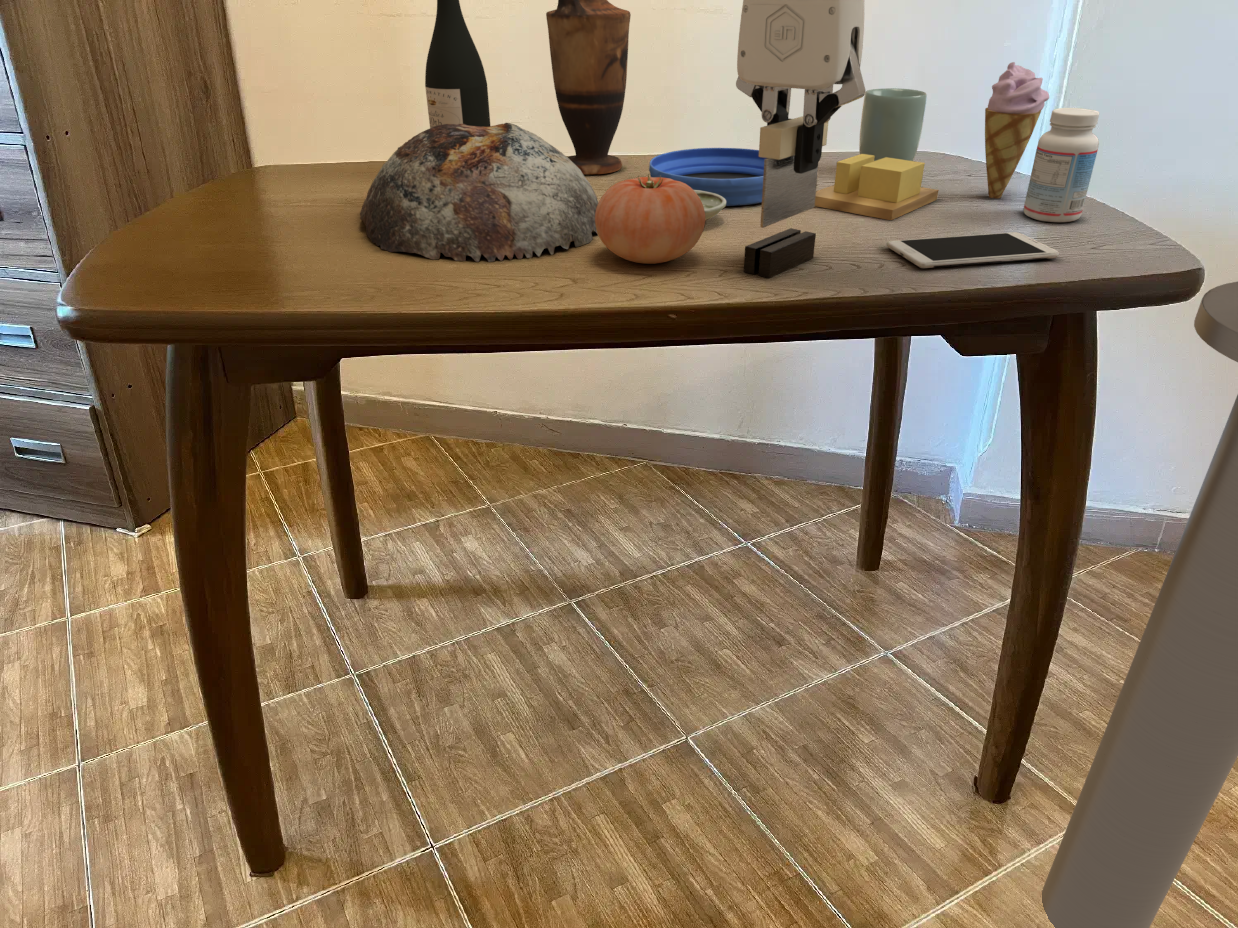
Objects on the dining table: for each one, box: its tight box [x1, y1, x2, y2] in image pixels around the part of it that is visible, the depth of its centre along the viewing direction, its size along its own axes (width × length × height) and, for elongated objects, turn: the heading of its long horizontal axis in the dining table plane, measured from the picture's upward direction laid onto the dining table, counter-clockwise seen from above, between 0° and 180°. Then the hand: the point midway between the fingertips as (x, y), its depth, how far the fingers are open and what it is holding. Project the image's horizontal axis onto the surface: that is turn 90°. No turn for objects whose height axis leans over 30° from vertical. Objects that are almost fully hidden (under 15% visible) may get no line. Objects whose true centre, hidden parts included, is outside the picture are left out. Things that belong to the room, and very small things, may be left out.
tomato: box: [595, 172, 706, 265], centre depth 85 cm, size 11×11×8 cm
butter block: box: [858, 157, 926, 203], centre depth 103 cm, size 5×6×4 cm
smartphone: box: [886, 231, 1060, 269], centre depth 87 cm, size 8×1×15 cm
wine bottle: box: [424, 0, 491, 129], centre depth 112 cm, size 8×8×30 cm
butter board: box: [815, 184, 939, 221], centre depth 105 cm, size 11×12×1 cm
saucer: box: [694, 190, 727, 221], centre depth 98 cm, size 10×10×2 cm
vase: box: [545, 0, 632, 176], centre depth 114 cm, size 11×11×30 cm
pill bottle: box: [1023, 107, 1100, 223], centre depth 96 cm, size 6×6×11 cm
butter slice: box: [833, 153, 875, 194], centre depth 105 cm, size 2×6×4 cm, turn 138°
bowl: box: [648, 147, 767, 207], centre depth 110 cm, size 18×18×4 cm
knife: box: [758, 115, 829, 229], centre depth 80 cm, size 2×9×8 cm, turn 138°
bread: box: [359, 122, 599, 263], centre depth 98 cm, size 27×32×10 cm
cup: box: [858, 88, 928, 161], centre depth 117 cm, size 8×8×10 cm
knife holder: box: [743, 227, 817, 279], centre depth 84 cm, size 3×8×2 cm, turn 138°
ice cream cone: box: [984, 61, 1050, 199], centre depth 103 cm, size 7×6×15 cm
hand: (792, 167), depth 80 cm, fingers closed on knife, 2 cm apart
